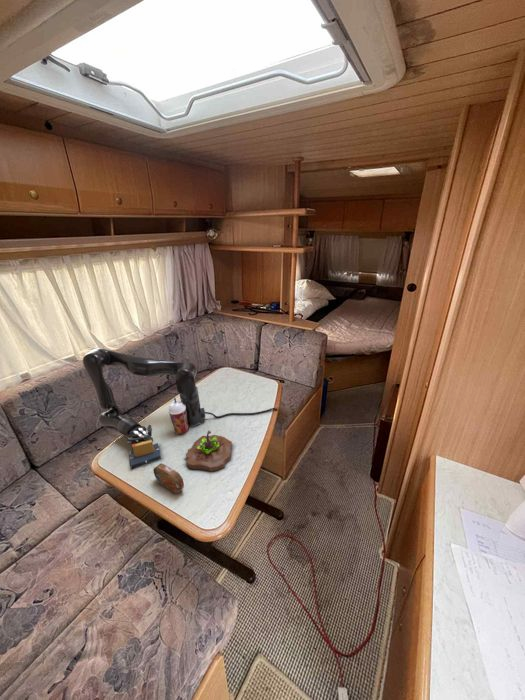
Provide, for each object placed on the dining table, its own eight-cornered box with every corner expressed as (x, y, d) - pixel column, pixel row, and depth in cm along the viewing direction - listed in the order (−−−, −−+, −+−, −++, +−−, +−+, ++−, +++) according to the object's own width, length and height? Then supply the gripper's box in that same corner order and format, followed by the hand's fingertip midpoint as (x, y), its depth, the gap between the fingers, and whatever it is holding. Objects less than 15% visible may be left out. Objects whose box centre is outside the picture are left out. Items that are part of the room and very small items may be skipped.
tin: (154, 480, 112) (150, 464, 108) (161, 474, 114) (157, 459, 111) (180, 496, 104) (177, 480, 101) (186, 490, 107) (183, 474, 103)
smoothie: (193, 426, 141) (187, 394, 133) (184, 437, 134) (176, 404, 126) (179, 423, 144) (172, 392, 136) (169, 434, 137) (161, 401, 129)
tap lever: (154, 449, 125) (151, 439, 122) (154, 452, 123) (151, 441, 121) (135, 454, 122) (132, 444, 119) (135, 457, 121) (132, 446, 118)
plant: (237, 441, 131) (236, 422, 126) (224, 474, 113) (221, 453, 109) (198, 436, 135) (196, 417, 130) (180, 467, 117) (176, 447, 113)
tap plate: (158, 444, 131) (157, 440, 130) (161, 461, 121) (160, 457, 120) (130, 452, 126) (129, 449, 125) (132, 471, 116) (130, 468, 115)
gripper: (113, 429, 125) (136, 443, 116) (139, 414, 135) (162, 426, 126) (117, 442, 128) (140, 457, 119) (142, 426, 138) (165, 439, 129)
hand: (151, 441), depth 123 cm, fingers closed
